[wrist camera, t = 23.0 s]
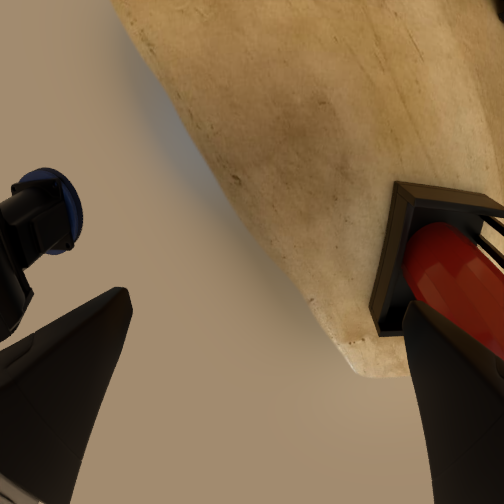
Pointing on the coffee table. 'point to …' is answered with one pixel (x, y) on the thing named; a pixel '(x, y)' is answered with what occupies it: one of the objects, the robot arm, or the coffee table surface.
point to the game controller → (502, 15)
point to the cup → (457, 282)
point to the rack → (408, 223)
